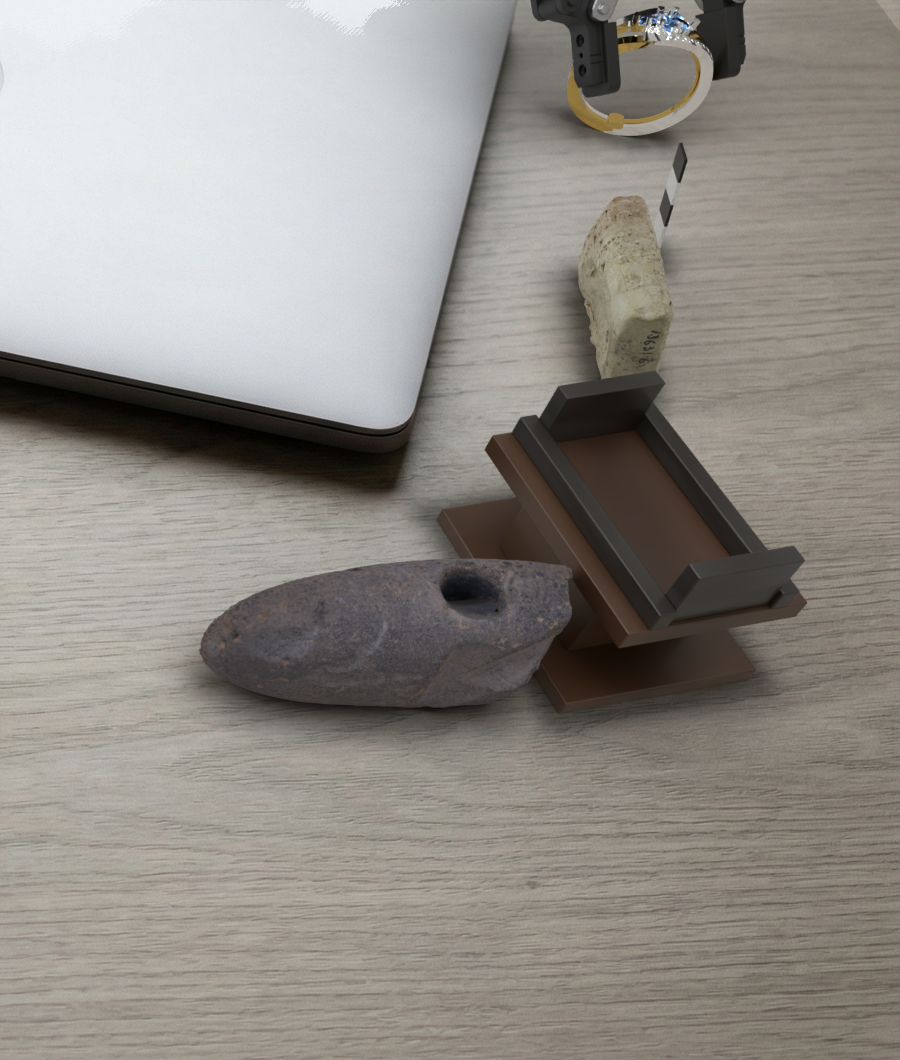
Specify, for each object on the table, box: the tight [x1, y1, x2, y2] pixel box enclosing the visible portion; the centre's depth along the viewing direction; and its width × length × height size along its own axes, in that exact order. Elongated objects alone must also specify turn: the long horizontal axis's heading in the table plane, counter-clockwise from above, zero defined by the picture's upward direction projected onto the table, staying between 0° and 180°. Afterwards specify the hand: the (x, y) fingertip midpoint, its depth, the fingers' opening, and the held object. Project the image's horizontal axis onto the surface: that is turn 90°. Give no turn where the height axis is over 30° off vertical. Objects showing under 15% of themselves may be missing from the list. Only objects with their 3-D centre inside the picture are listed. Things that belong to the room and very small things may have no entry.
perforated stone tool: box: [198, 558, 573, 709], centre depth 71 cm, size 15×5×7 cm, turn 89°
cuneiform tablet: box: [577, 142, 689, 379], centre depth 85 cm, size 7×4×12 cm
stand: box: [435, 371, 808, 715], centre depth 73 cm, size 9×11×9 cm
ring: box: [566, 5, 713, 137], centre depth 94 cm, size 7×3×8 cm, turn 67°
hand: (661, 86), depth 93 cm, fingers closed on ring, 6 cm apart
